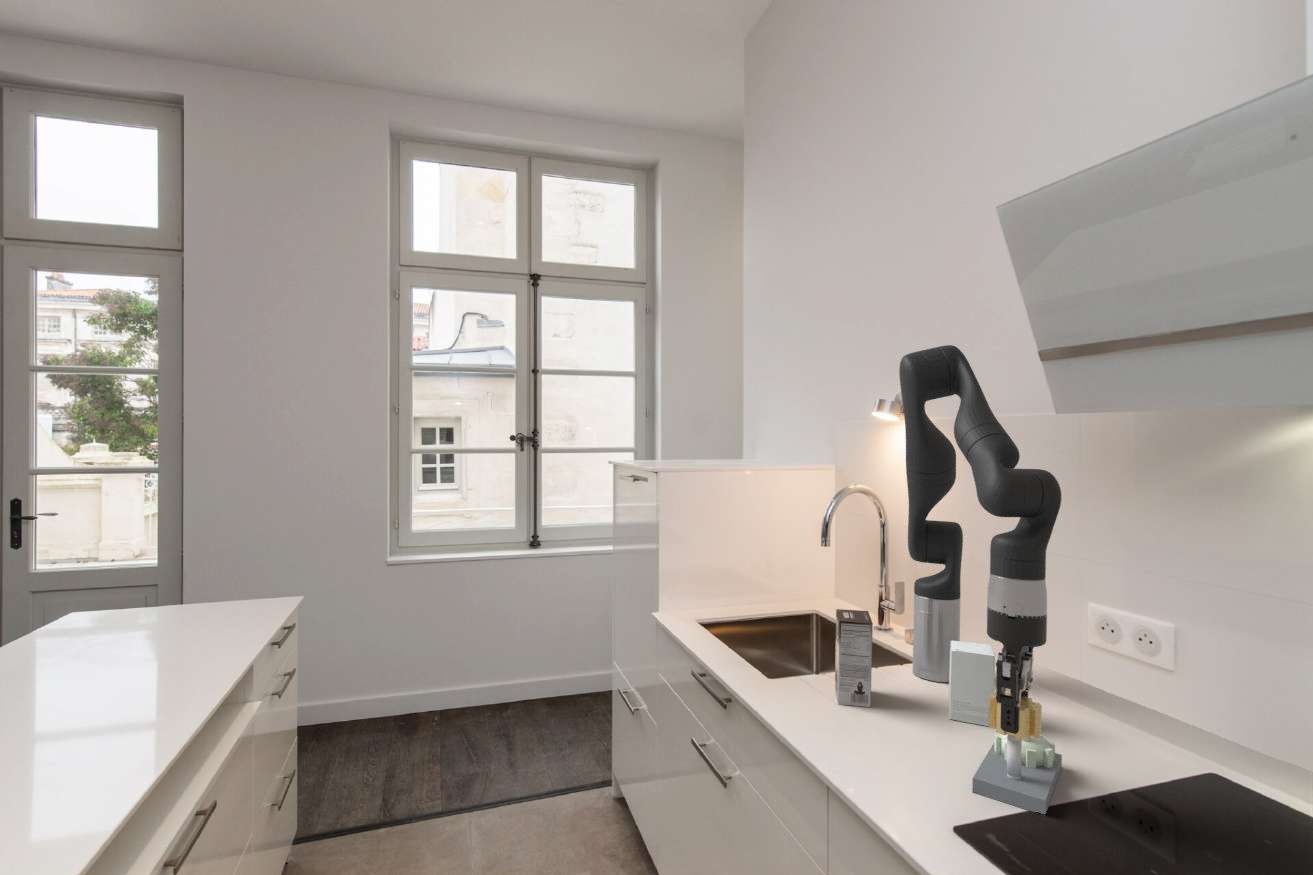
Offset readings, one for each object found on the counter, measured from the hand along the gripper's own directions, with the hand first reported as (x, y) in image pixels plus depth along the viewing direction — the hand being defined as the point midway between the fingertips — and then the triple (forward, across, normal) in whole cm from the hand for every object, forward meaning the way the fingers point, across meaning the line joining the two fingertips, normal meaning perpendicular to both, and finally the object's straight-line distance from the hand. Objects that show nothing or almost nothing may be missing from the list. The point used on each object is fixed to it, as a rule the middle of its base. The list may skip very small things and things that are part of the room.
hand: (1014, 722), depth 93 cm
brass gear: (+1, 0, 0) cm, 1 cm away
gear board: (+10, -4, 0) cm, 11 cm away
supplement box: (+10, -24, -11) cm, 28 cm away
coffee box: (+10, -18, -31) cm, 37 cm away
